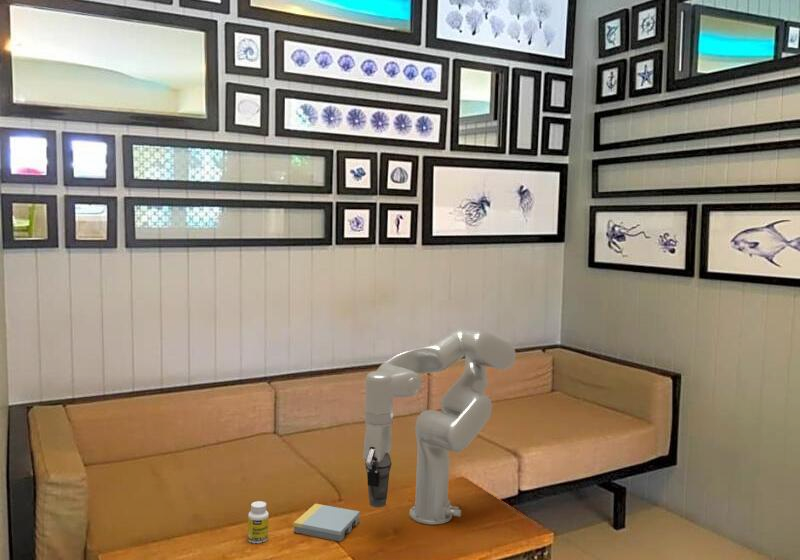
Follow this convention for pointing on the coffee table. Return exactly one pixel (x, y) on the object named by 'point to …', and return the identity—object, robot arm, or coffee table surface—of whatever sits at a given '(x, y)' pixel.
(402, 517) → the coffee table surface
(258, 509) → the supplement bottle
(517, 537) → the coffee table surface
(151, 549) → the coffee table surface
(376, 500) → the beverage cup
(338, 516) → the plate
